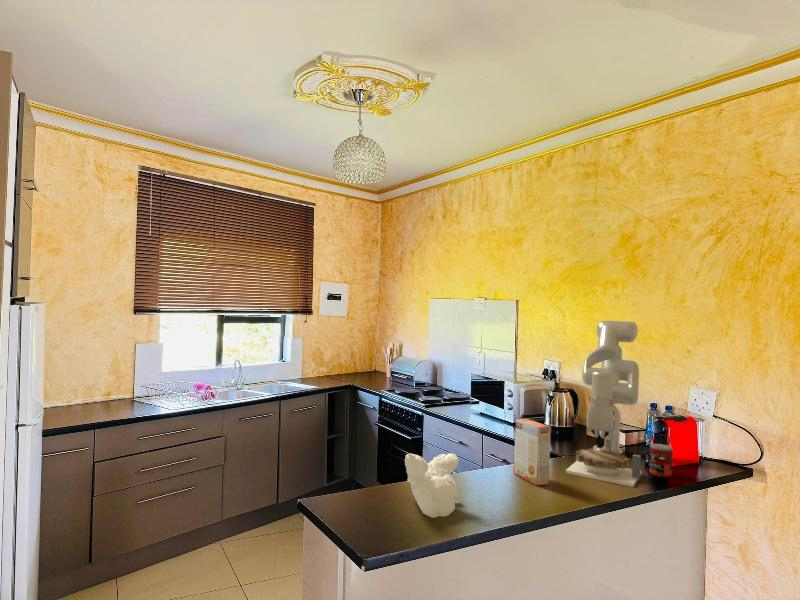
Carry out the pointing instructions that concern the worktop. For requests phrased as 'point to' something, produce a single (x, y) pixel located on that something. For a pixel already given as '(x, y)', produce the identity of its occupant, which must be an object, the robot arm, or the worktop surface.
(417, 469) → the white lumpy piece
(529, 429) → the cracker box
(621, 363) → the robot arm
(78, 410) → the worktop surface
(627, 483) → the stand
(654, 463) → the canned food
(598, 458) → the sprocket
